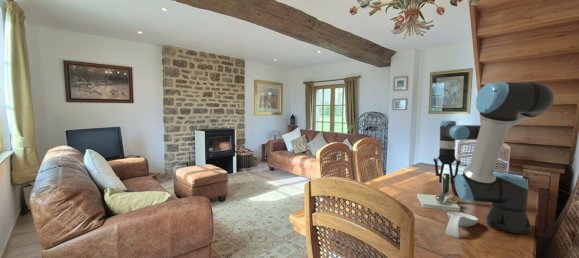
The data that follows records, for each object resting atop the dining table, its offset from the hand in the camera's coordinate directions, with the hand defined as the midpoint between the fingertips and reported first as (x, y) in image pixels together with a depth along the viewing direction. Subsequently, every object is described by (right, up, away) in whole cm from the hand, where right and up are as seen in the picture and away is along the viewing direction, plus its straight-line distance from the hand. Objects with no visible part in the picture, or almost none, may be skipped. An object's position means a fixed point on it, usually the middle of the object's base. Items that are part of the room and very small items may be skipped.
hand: (445, 188), depth 144 cm
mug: (+15, -7, +10) cm, 19 cm away
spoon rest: (-15, -10, -33) cm, 38 cm away
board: (-7, -7, -4) cm, 11 cm away
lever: (-5, -3, -5) cm, 8 cm away
